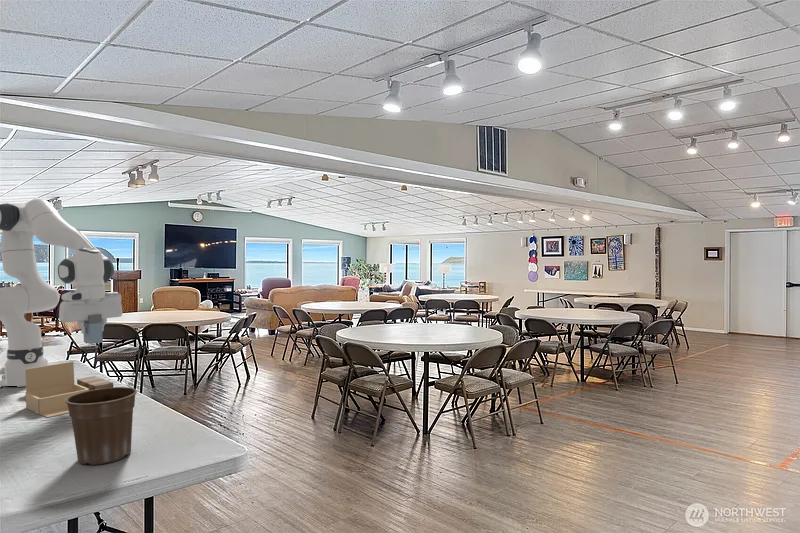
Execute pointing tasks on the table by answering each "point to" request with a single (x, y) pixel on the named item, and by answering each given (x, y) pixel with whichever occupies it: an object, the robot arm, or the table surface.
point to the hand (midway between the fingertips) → (92, 332)
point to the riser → (94, 383)
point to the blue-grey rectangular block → (93, 329)
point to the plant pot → (102, 423)
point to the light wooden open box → (51, 388)
